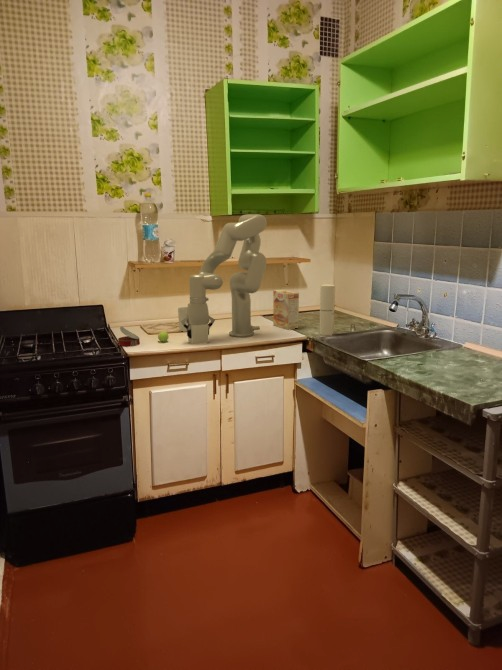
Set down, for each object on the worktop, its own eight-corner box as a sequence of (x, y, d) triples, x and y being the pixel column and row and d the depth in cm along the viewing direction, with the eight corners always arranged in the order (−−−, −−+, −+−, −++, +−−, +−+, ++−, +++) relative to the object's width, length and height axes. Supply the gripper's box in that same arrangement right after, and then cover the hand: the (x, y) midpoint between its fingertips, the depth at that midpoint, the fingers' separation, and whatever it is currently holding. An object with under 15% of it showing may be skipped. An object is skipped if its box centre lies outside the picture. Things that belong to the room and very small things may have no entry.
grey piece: (203, 339, 251) (203, 321, 249) (208, 342, 244) (208, 324, 242) (188, 340, 248) (187, 323, 246) (192, 344, 241) (192, 326, 239)
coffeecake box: (272, 325, 283) (272, 290, 279) (283, 323, 287) (283, 289, 282) (287, 330, 271) (288, 293, 266) (298, 328, 274) (299, 292, 270)
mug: (183, 332, 266) (182, 309, 264) (176, 330, 271) (175, 308, 269) (199, 329, 273) (198, 307, 270) (192, 327, 278) (191, 306, 275)
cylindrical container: (316, 333, 263) (317, 284, 257) (328, 332, 265) (330, 283, 260) (323, 336, 256) (325, 286, 251) (336, 334, 259) (337, 285, 253)
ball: (167, 340, 250) (166, 330, 249) (169, 342, 245) (169, 332, 244) (157, 341, 248) (156, 331, 247) (159, 343, 243) (159, 333, 242)
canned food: (127, 351, 248) (132, 331, 250) (142, 352, 242) (147, 332, 244) (109, 344, 239) (115, 324, 242) (124, 345, 233) (129, 324, 236)
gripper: (212, 298, 248) (213, 334, 252) (177, 300, 242) (178, 336, 245) (217, 301, 242) (218, 337, 245) (181, 302, 235) (182, 340, 239)
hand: (198, 336), depth 245 cm, fingers closed on grey piece, 7 cm apart
